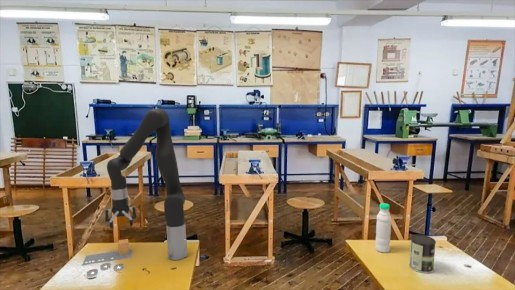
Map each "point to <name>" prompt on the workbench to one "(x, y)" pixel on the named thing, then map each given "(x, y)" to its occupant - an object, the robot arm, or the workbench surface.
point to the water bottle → (383, 229)
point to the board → (105, 257)
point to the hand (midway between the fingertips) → (121, 227)
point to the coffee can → (422, 253)
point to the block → (123, 247)
